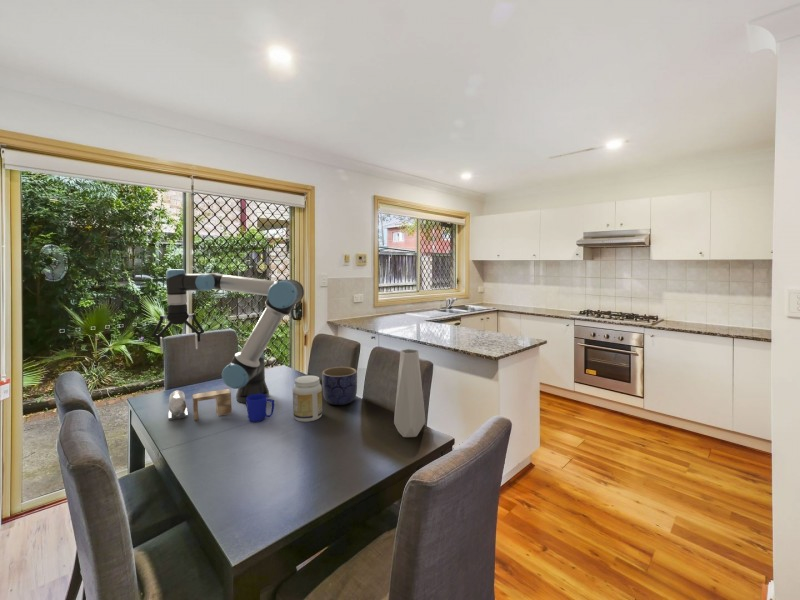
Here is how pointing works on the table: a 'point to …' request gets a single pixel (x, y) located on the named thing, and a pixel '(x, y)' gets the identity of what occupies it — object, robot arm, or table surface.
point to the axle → (177, 402)
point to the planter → (339, 385)
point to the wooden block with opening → (221, 401)
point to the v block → (182, 415)
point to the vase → (409, 395)
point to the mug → (258, 407)
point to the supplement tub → (307, 398)
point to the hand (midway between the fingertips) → (179, 350)
